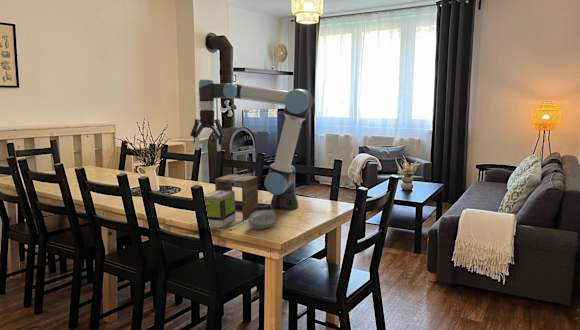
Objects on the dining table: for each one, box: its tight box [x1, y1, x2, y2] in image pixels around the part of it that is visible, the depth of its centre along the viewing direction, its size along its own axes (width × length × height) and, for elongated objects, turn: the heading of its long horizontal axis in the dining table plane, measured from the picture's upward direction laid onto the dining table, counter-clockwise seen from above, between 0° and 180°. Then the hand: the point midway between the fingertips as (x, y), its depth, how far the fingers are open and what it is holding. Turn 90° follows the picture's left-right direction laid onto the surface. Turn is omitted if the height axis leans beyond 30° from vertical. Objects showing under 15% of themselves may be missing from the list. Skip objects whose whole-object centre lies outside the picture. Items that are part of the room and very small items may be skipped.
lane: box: [190, 219, 249, 230], centre depth 215 cm, size 23×16×1 cm
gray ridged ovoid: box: [247, 209, 277, 231], centre depth 207 cm, size 14×10×10 cm
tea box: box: [203, 190, 237, 228], centre depth 214 cm, size 15×10×15 cm
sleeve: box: [214, 174, 259, 221], centre depth 228 cm, size 16×14×19 cm
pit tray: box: [235, 199, 272, 211], centre depth 241 cm, size 22×7×3 cm, turn 66°
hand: (208, 150), depth 237 cm, fingers open, 13 cm apart
